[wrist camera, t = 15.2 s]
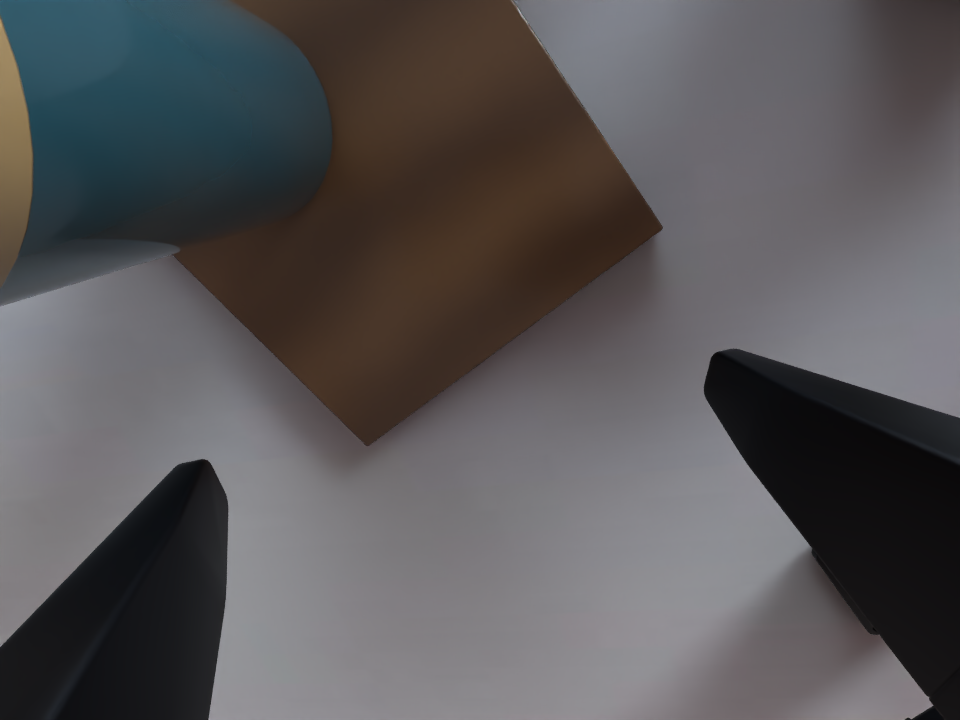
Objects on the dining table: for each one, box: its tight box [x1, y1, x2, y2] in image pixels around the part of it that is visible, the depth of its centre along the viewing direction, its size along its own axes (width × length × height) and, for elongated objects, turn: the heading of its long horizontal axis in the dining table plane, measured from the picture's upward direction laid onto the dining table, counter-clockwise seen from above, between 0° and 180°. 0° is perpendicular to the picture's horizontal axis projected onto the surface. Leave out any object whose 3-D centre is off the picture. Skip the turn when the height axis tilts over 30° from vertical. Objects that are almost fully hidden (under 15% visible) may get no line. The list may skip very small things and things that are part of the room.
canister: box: [0, 0, 332, 306], centre depth 10 cm, size 7×7×14 cm
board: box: [172, 0, 663, 446], centre depth 16 cm, size 22×14×1 cm, turn 39°
